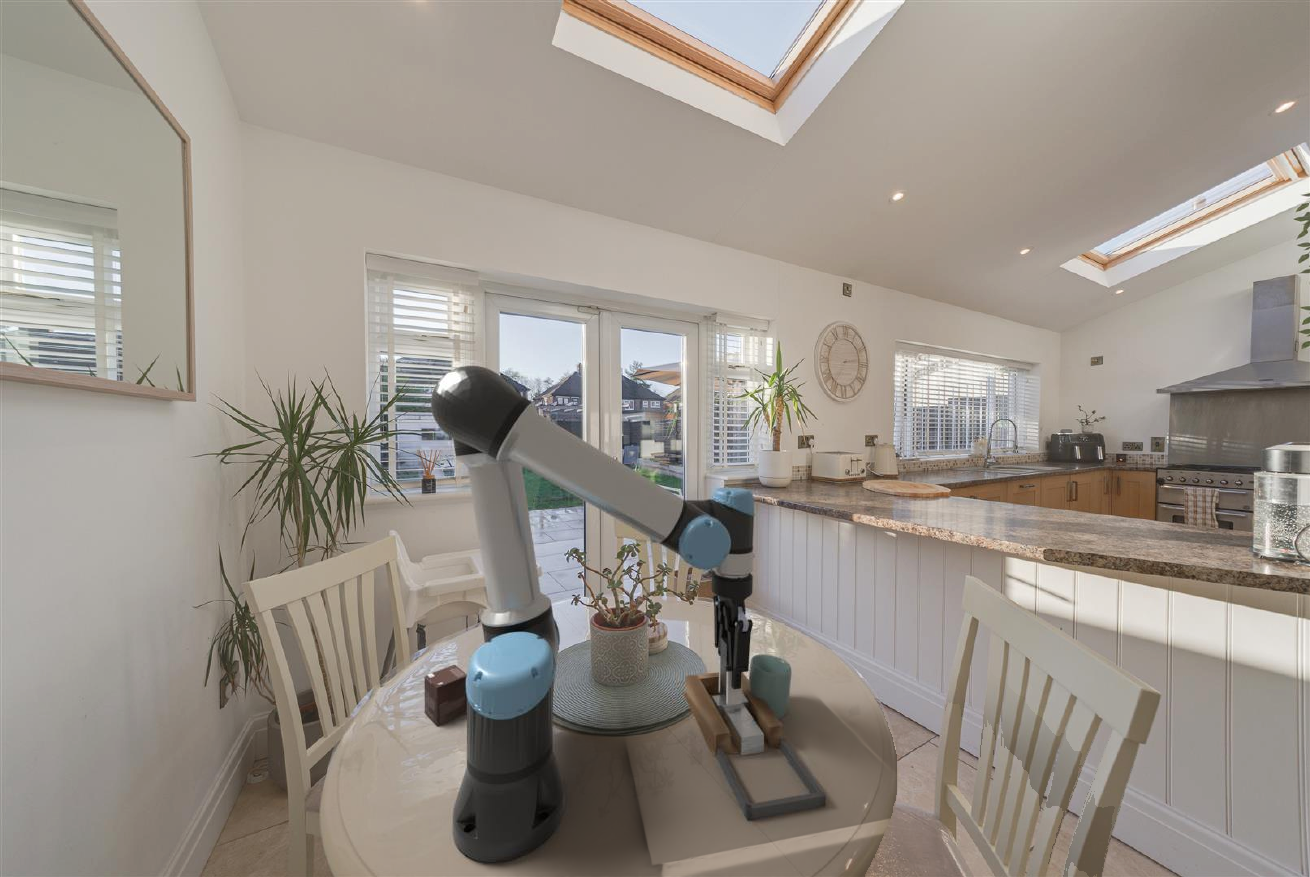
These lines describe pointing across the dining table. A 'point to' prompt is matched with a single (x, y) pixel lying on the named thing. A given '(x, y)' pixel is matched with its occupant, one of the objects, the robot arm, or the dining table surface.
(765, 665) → the cup
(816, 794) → the tray
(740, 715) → the block
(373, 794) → the dining table surface
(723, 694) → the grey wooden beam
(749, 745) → the chip front
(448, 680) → the box
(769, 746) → the slot board
